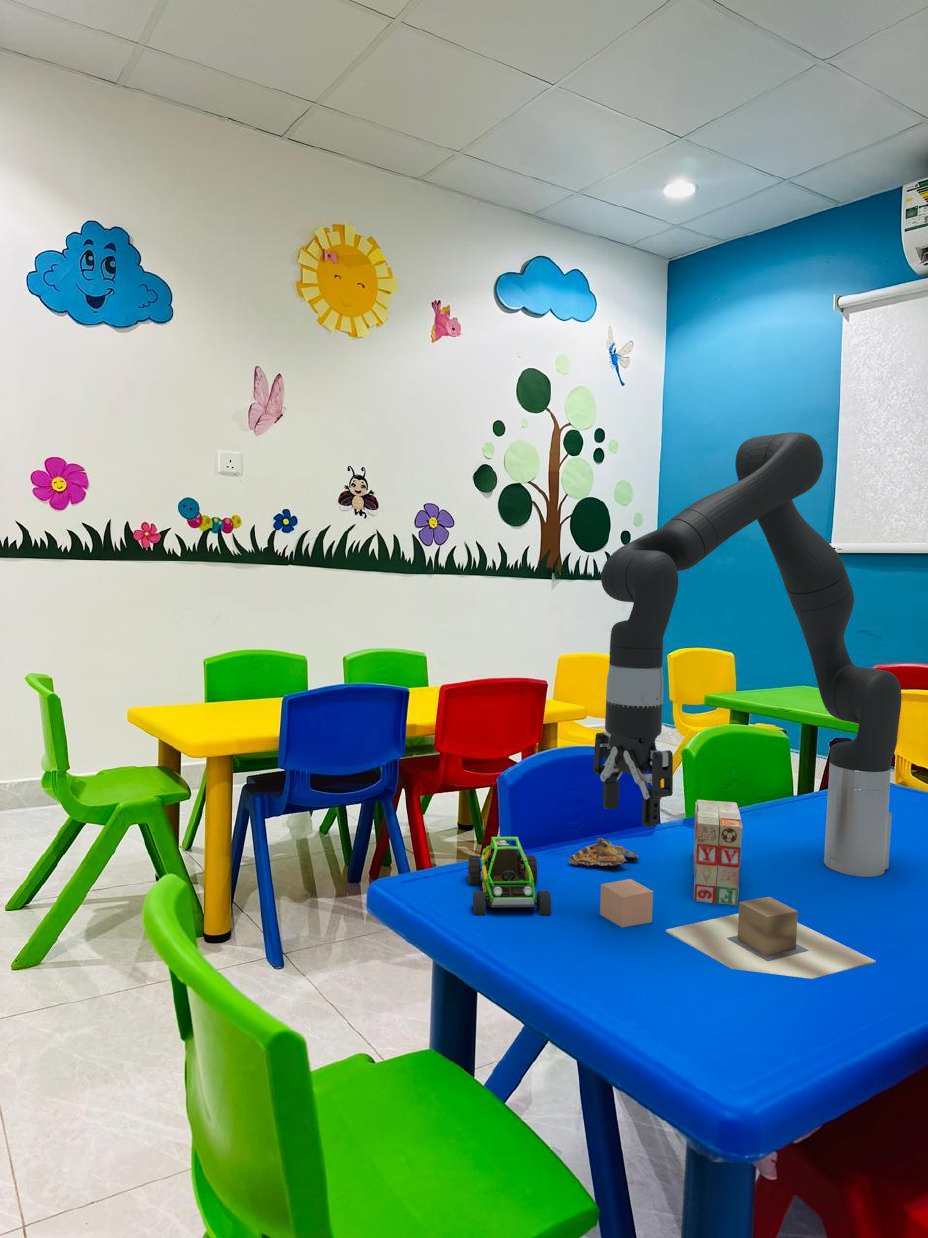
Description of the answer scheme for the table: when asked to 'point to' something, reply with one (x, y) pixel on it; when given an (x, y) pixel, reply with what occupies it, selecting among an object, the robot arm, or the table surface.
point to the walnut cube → (767, 926)
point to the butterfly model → (601, 854)
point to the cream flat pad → (805, 961)
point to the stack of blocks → (717, 852)
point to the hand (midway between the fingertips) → (629, 816)
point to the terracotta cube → (626, 903)
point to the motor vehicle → (506, 878)
